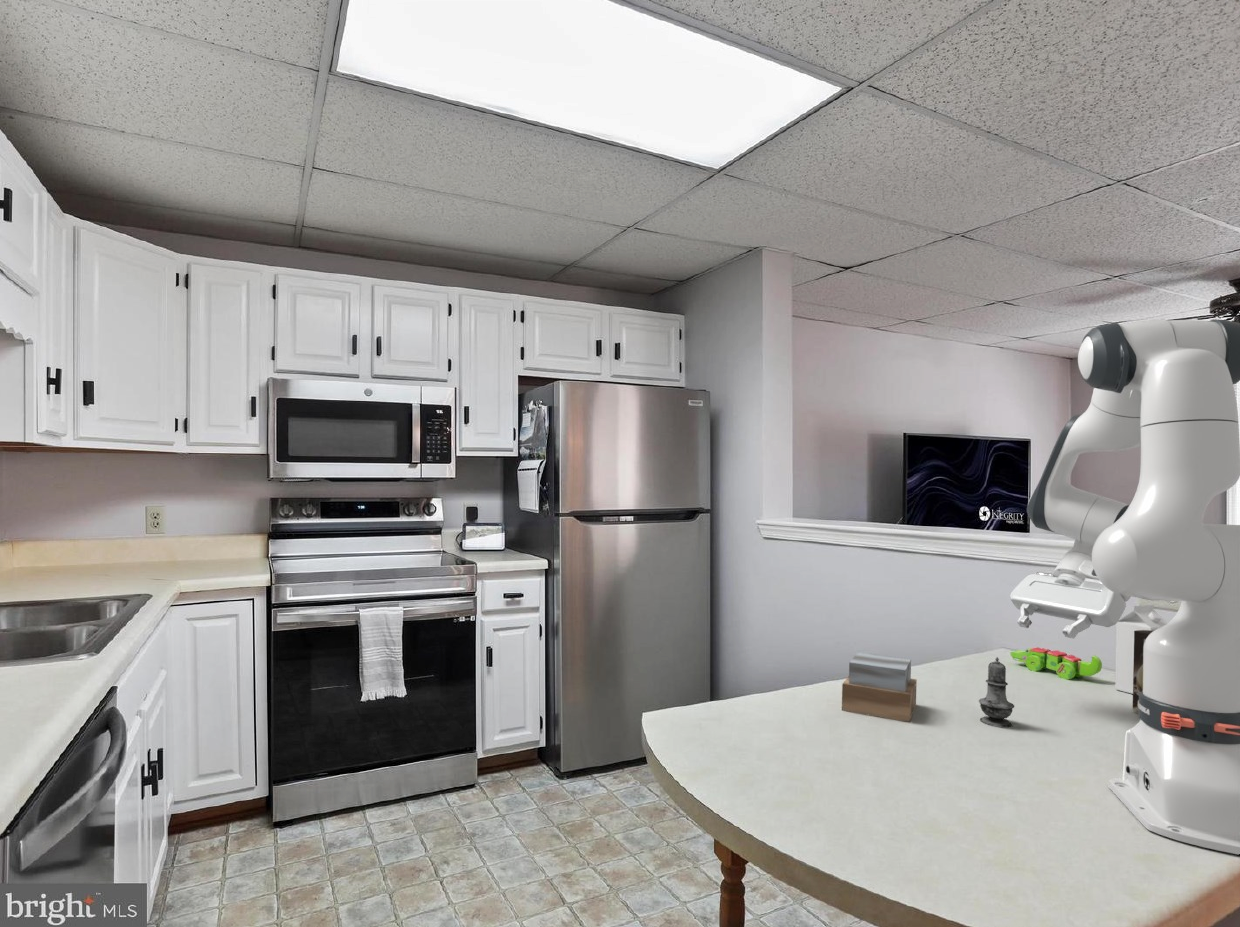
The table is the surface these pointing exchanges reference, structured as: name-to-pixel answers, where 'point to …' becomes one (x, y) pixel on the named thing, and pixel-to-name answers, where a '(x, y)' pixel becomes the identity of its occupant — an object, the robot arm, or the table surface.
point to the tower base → (879, 701)
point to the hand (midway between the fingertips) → (1044, 630)
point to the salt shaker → (996, 697)
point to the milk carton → (1132, 642)
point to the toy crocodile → (1057, 662)
